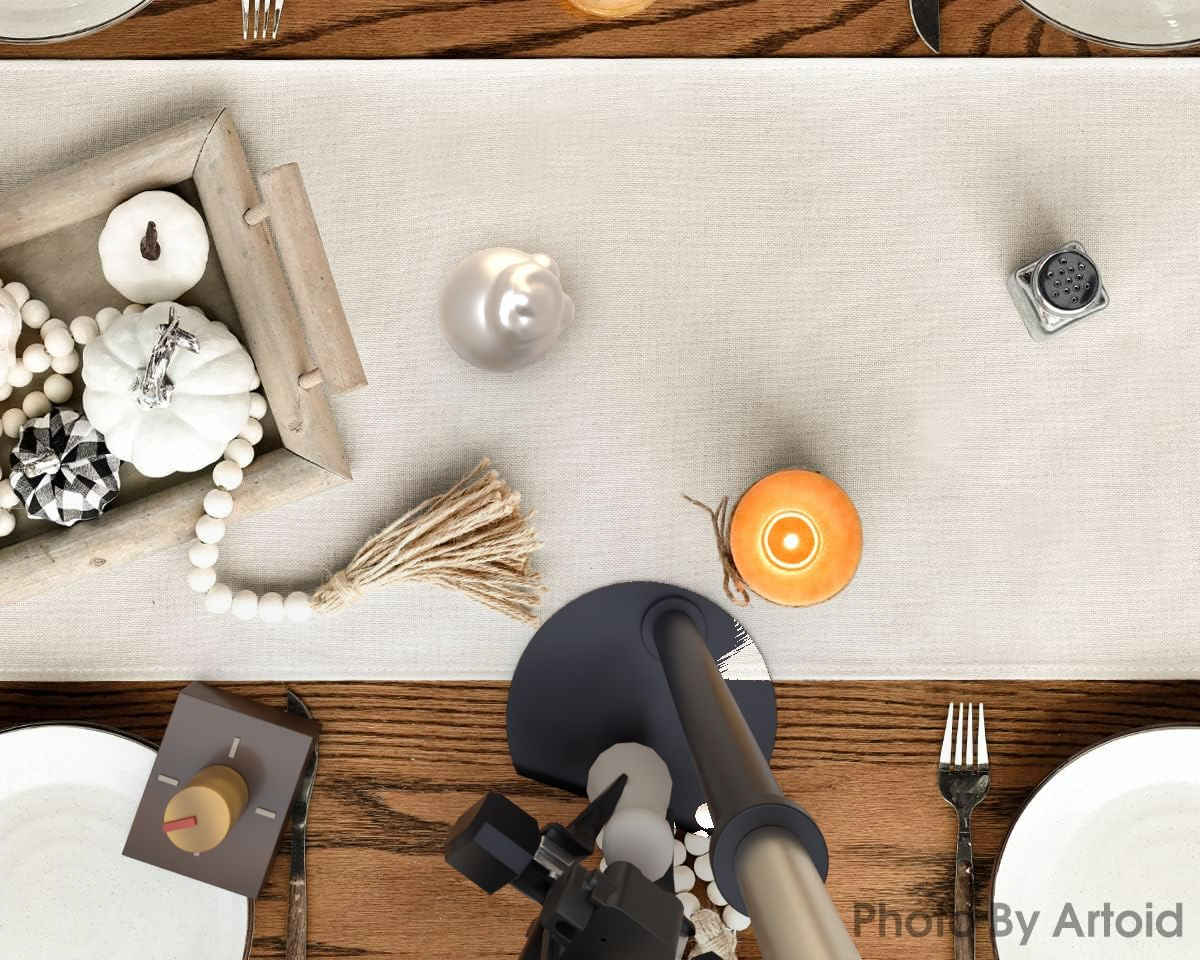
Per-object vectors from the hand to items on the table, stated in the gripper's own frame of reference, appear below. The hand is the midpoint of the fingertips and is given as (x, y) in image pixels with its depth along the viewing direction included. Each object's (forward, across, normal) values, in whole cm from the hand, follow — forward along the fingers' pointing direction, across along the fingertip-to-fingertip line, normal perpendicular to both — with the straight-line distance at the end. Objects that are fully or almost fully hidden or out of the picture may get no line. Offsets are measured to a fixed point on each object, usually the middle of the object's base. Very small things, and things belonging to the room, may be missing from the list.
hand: (646, 793), depth 67 cm
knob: (-9, +22, +19) cm, 31 cm away
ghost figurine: (+21, +26, -7) cm, 35 cm away
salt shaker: (+4, 0, +6) cm, 7 cm away
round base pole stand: (+8, +1, +6) cm, 10 cm away
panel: (-7, +22, +21) cm, 32 cm away
